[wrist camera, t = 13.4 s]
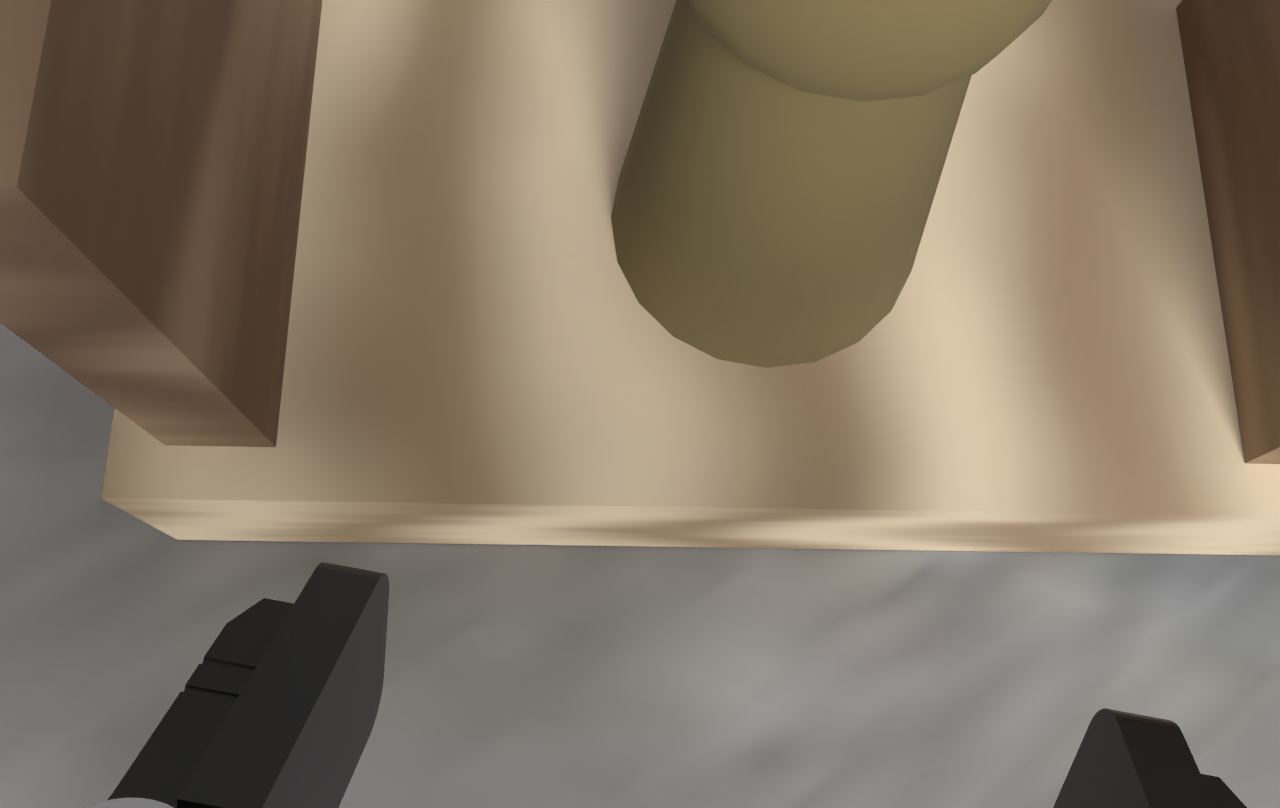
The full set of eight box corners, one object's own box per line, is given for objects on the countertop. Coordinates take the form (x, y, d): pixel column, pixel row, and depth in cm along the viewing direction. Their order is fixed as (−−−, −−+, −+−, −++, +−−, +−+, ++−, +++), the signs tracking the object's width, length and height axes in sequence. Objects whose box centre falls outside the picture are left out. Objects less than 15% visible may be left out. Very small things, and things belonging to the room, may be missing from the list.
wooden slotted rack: (177, 540, 25) (-315, 272, 11) (239, 49, 28) (-80, -595, 15) (1288, 555, 25) (2054, 323, 12) (1212, 77, 29) (1739, -510, 16)
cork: (729, 36, 24) (833, -522, 14) (974, 199, 23) (1287, -266, 13) (548, 246, 23) (510, -203, 12) (803, 429, 22) (1000, 115, 11)
